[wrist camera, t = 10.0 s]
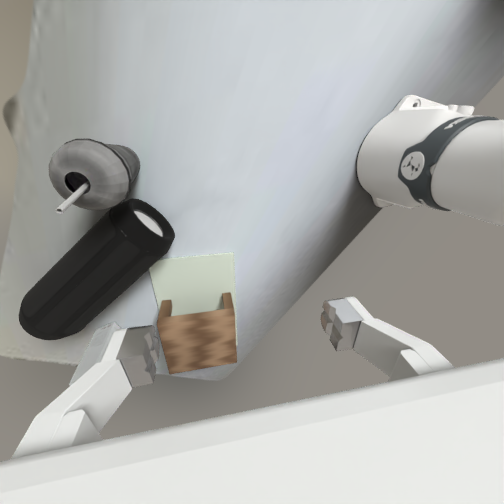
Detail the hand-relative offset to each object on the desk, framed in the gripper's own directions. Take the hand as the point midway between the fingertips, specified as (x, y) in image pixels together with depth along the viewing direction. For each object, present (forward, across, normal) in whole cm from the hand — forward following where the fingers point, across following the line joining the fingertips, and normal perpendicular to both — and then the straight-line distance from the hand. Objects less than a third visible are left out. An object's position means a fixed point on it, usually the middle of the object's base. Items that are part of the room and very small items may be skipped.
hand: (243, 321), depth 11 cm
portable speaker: (+32, +20, +12) cm, 39 cm away
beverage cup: (+32, +13, -4) cm, 35 cm away
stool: (+28, +6, +23) cm, 36 cm away
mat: (+32, +6, +27) cm, 42 cm away
